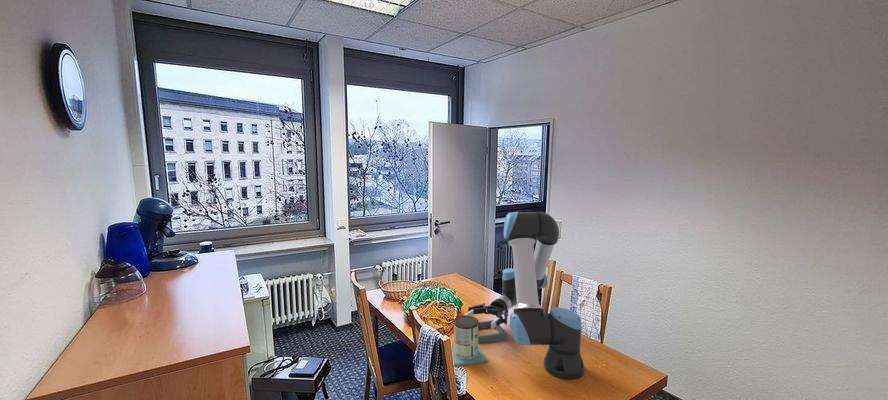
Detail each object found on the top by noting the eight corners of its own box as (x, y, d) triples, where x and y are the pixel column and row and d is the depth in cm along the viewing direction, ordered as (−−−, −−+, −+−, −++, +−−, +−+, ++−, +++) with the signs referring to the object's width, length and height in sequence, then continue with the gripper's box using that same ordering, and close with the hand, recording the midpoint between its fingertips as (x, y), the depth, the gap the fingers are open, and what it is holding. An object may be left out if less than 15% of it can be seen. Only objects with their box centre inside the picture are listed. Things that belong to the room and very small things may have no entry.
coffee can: (454, 345, 156) (454, 314, 154) (478, 346, 155) (478, 315, 153) (452, 358, 146) (452, 325, 144) (478, 360, 145) (478, 327, 143)
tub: (506, 339, 163) (506, 333, 163) (477, 343, 160) (477, 336, 160) (495, 325, 177) (495, 319, 176) (468, 328, 173) (468, 322, 173)
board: (487, 361, 145) (487, 359, 145) (454, 366, 142) (454, 364, 142) (476, 344, 159) (476, 342, 159) (445, 348, 155) (445, 346, 155)
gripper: (524, 320, 167) (503, 338, 150) (478, 306, 182) (454, 322, 165) (524, 304, 166) (503, 321, 149) (478, 292, 181) (454, 306, 164)
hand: (478, 321), depth 157 cm, fingers open, 13 cm apart
